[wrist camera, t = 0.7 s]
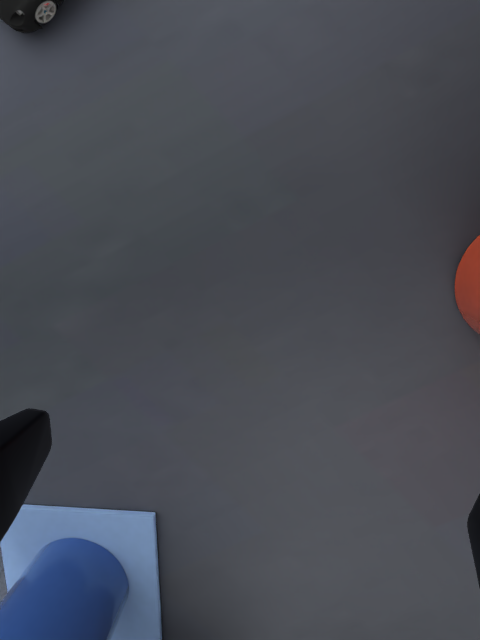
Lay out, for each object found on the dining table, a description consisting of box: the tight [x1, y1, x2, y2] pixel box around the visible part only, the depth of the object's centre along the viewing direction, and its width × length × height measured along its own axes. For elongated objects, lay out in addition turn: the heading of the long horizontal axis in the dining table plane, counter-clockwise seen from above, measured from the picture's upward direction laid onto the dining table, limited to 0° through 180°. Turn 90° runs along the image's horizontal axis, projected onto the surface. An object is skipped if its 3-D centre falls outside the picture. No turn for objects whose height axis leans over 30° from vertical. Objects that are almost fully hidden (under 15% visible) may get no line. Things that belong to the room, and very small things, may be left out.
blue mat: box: [0, 504, 162, 640], centre depth 27 cm, size 10×10×1 cm
